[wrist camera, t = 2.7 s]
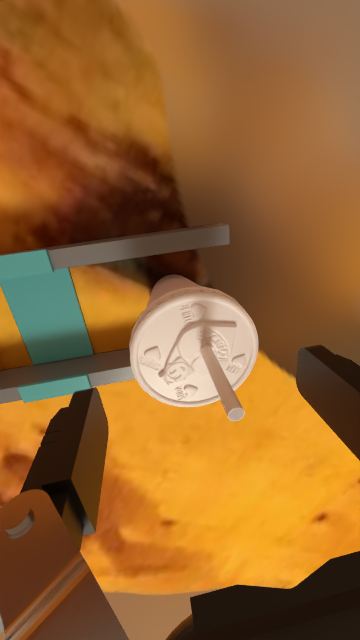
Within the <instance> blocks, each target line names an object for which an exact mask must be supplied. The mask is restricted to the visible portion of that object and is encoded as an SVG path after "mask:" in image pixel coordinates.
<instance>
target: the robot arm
mask: <svg viewBox="0 0 360 640" xmlns="http://www.w3.org/2000/svg"><path fill="white" fill-rule="evenodd" d="M296 384H297V387H298V390H299V392H300V394H301V395H302V396H303V398H304V399H305V400H306V401H307V402H308V403H309V404H310V405H311V406H312V408H313V409H314V410H315V411H316V412H317V413H318V414H319V415H320V417H321V418H322V419H323V420H324V421H325V422H326V423H327V424H328V426H329V427H330V428H331V429H332V430H333V431H334V432H335V433H336V435H337V436H338V437H339V438H340V439H341V440H342V441H343V442H344V444H345V445H346V446H347V447H348V448H349V449H350V450H351V451H352V452H353V454H354V455H355V456H356V457H357V458H358V459H359V460H360V366H359V365H357V364H356V363H355V362H353V361H352V360H349V359H347V358H344V357H342V356H339V355H337V354H336V355H335V354H333V353H332V352H330V351H329V350H328V349H326V348H325V347H324V346H322V345H315V346H310V347H305V348H301V349H300V350H299V352H298V361H297V374H296ZM107 441H108V421H107V417H106V414H105V411H104V408H103V405H102V401H101V398H100V395H99V392H98V390H97V388H90V389H85V390H80V391H75V392H74V393H73V396H72V399H71V402H70V404H69V407H66V408H61V409H60V410H59V411H58V412H57V414H56V415H55V416H54V417H53V418H52V419H51V420H50V423H49V425H48V428H47V430H46V432H45V436H44V437H43V439H42V442H41V447H39V449H38V451H37V454H36V456H35V459H34V461H33V463H32V466H31V468H30V470H29V473H28V475H27V478H26V480H25V482H24V485H23V487H22V490H21V492H20V494H19V495H17V496H15V497H14V498H12V499H11V500H9V501H8V502H7V503H6V504H5V505H4V506H2V507H1V508H0V633H1V632H3V631H4V632H5V640H129V639H128V637H127V635H126V633H125V631H124V629H123V628H122V626H121V624H120V622H119V621H118V619H117V617H116V615H115V613H114V611H113V610H112V608H111V606H110V604H109V602H108V601H107V599H106V597H105V595H104V593H103V592H102V590H101V588H100V586H99V584H98V583H97V581H96V579H95V577H94V575H93V574H92V572H91V570H90V568H89V566H88V565H87V563H86V561H85V560H84V558H83V556H82V555H81V553H80V548H81V542H82V536H84V535H88V534H92V533H95V531H96V524H97V516H98V509H99V501H100V494H101V486H102V479H103V471H104V464H105V456H106V449H107ZM190 601H191V609H192V614H191V615H190V616H189V617H187V618H186V619H185V620H184V621H182V622H181V623H180V624H179V625H178V626H177V627H176V628H175V629H174V630H173V631H172V632H171V634H170V635H169V636H168V638H167V639H166V640H360V551H358V552H354V553H351V554H347V555H343V556H340V557H336V558H333V559H330V560H329V561H327V562H326V563H325V564H324V565H322V566H321V567H320V568H318V569H317V570H316V571H315V572H313V573H312V574H311V575H310V576H308V577H307V578H306V579H304V580H303V581H302V582H301V583H299V584H298V585H297V586H295V587H294V588H291V589H282V588H270V587H259V586H247V585H234V586H230V587H227V588H223V589H219V590H216V591H212V592H209V593H205V594H201V595H198V596H194V597H191V598H190Z"/></svg>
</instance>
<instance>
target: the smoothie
mask: <svg viewBox="0 0 360 640" xmlns="http://www.w3.org/2000/svg"><path fill="white" fill-rule="evenodd" d="M129 348H130V362H131V367H132V371H133V374H134V376H135V378H136V380H137V381H138V383H139V385H140V386H141V387H142V388H143V389H144V390H145V391H146V392H147V393H148V394H149V395H151V396H152V397H154V398H155V399H157V400H159V401H161V402H163V403H166V404H169V405H173V406H179V407H197V406H203V405H207V404H211V403H213V402H216V401H218V400H220V399H221V402H222V404H223V407H224V409H225V411H226V414H227V416H228V418H229V420H231V421H239V420H241V419H242V418H243V416H244V414H245V413H244V410H243V408H242V406H241V404H240V402H239V400H238V398H237V396H236V395H235V393H234V390H236V389H237V388H238V387H239V386H240V385H241V384H242V383H243V382H244V381H245V379H246V378H247V377H248V375H249V374H250V372H251V370H252V368H253V366H254V364H255V361H256V358H257V353H258V336H257V331H256V328H255V325H254V323H253V321H252V319H251V318H250V316H249V315H248V314H247V312H246V311H245V310H244V308H243V307H242V306H241V305H240V304H239V303H238V302H237V301H236V300H235V299H233V298H232V297H230V296H229V295H227V294H225V293H223V292H221V291H219V290H216V289H211V288H206V287H201V286H199V285H198V284H196V283H194V282H192V281H191V280H189V279H187V278H185V277H183V276H181V275H167V276H165V277H163V278H161V279H160V280H159V281H158V282H157V283H156V284H155V285H154V287H153V289H152V292H151V295H150V298H149V302H148V305H147V308H146V309H145V310H144V311H143V312H142V313H141V314H140V316H139V318H138V320H137V322H136V323H135V325H134V327H133V329H132V333H131V338H130V343H129Z"/></svg>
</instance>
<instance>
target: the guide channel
mask: <svg viewBox="0 0 360 640" xmlns="http://www.w3.org/2000/svg"><path fill="white" fill-rule="evenodd" d="M225 244H230V241H229V225H225V224H217V223H216V224H209V225H202V226H194V227H187V228H180V229H173V230H166V231H159V232H152V233H145V234H138V235H130V236H123V237H116V238H109V239H102V240H95V241H88V242H81V243H74V244H66V245H59V246H52V247H45V248H38V249H31V250H24V251H17V252H10V253H2V254H0V285H1V288H2V290H3V292H4V295H5V297H6V300H7V302H8V304H9V307H10V309H11V312H12V314H13V317H14V319H15V321H16V324H17V326H18V329H19V331H20V333H21V336H22V338H23V341H24V343H25V345H26V348H27V350H28V353H29V355H30V357H31V360H32V362H33V365H30V366H24V367H19V368H13V369H7V370H1V371H0V404H2V403H7V402H13V401H18V400H23V402H24V403H26V402H31V401H37V400H42V399H48V398H53V397H58V396H64V395H69V394H73V393H74V392H75V391H80V390H85V389H90V388H92V387H94V386H99V385H105V384H110V383H116V382H121V381H127V380H132V379H136V378H135V376H134V374H133V371H132V367H131V362H130V348H127V349H122V350H116V351H110V352H105V353H99V354H94V352H93V348H92V345H91V342H90V338H89V335H88V331H87V328H86V325H85V321H84V318H83V315H82V311H81V308H80V305H79V301H78V298H77V295H76V291H75V288H74V284H73V281H72V278H71V274H70V271H69V268H70V267H77V266H83V265H90V264H97V263H104V262H110V261H117V260H124V259H131V258H138V257H144V256H151V255H158V254H165V253H171V252H178V251H185V250H192V249H199V248H205V247H212V246H218V245H225Z"/></svg>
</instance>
